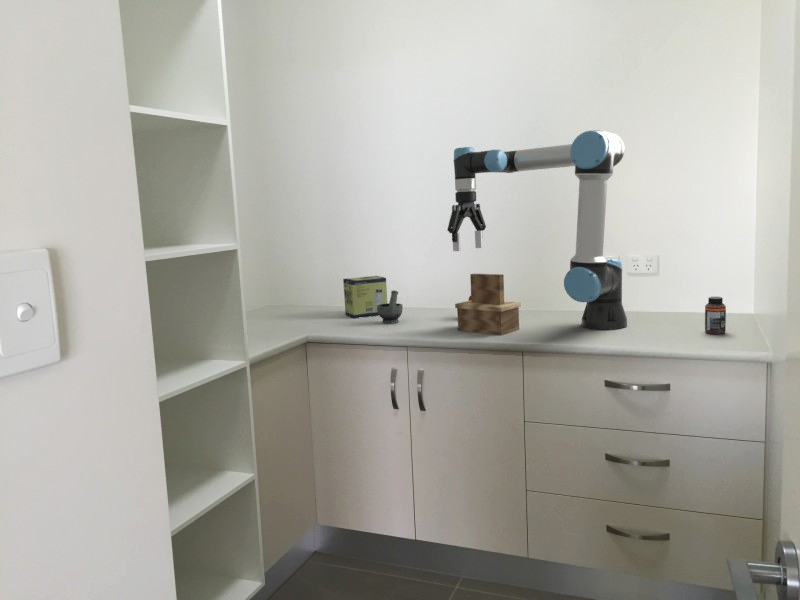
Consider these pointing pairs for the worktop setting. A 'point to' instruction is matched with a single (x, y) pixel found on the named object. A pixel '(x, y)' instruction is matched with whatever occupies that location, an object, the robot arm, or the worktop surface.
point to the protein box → (364, 295)
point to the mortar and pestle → (390, 310)
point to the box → (488, 321)
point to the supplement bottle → (715, 316)
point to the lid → (487, 294)
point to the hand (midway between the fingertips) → (468, 249)
